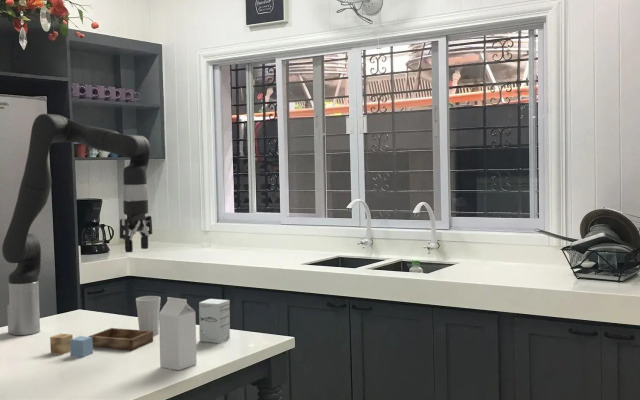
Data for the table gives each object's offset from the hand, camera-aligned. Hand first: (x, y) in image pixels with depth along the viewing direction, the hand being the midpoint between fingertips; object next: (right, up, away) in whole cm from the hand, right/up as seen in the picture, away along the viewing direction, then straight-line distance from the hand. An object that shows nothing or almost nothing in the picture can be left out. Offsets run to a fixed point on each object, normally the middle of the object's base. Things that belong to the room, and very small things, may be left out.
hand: (136, 250), depth 224 cm
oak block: (-20, -30, -9) cm, 37 cm away
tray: (-5, -29, -1) cm, 30 cm away
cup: (+1, -29, +12) cm, 31 cm away
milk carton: (+18, -31, -26) cm, 44 cm away
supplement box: (+24, -29, +3) cm, 38 cm away
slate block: (-13, -30, -13) cm, 35 cm away
